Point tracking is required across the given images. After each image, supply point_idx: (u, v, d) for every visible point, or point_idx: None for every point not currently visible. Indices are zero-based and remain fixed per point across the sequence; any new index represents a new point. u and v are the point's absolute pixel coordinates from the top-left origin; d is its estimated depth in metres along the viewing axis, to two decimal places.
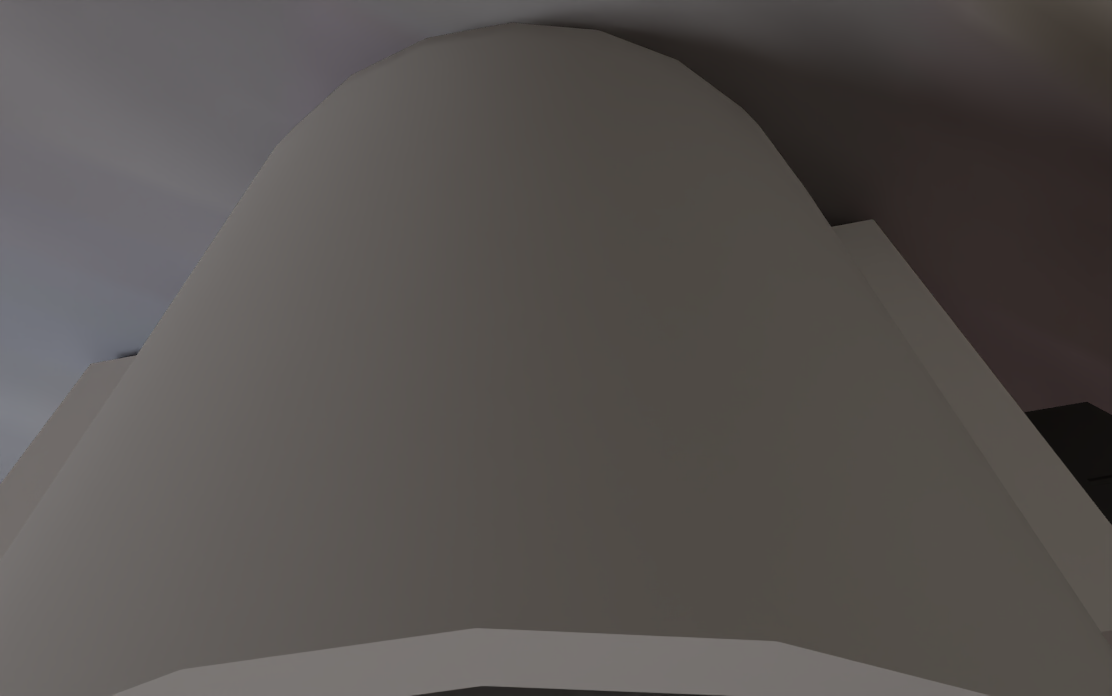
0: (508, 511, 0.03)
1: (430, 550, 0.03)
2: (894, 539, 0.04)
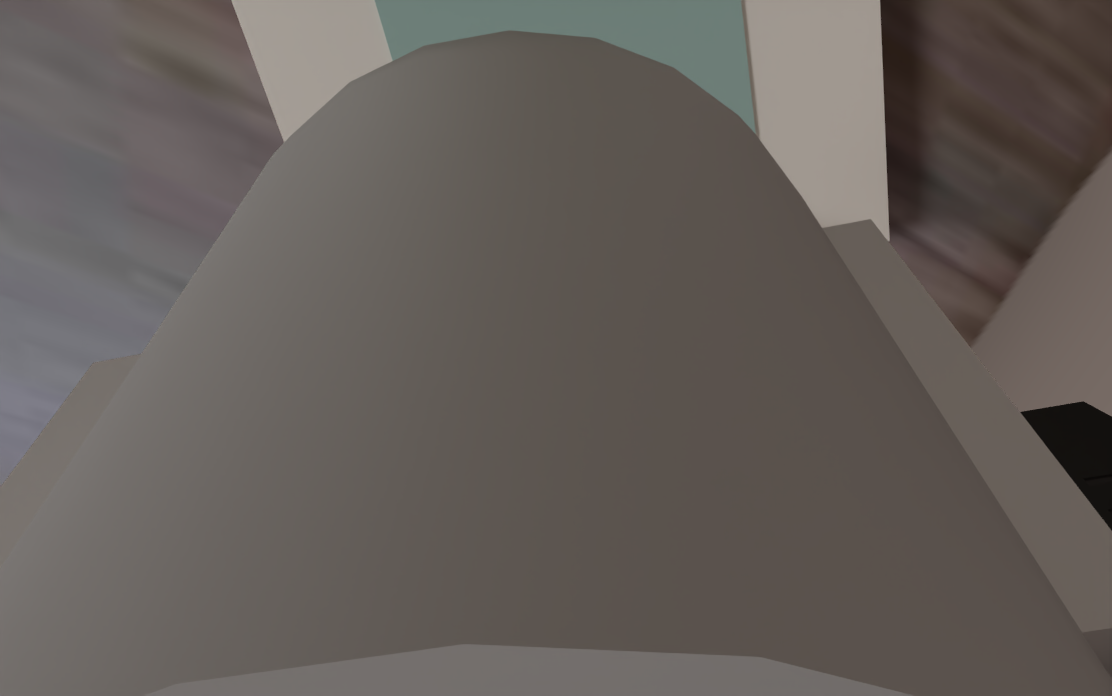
0: (497, 527, 0.04)
1: (420, 566, 0.03)
2: (879, 554, 0.04)
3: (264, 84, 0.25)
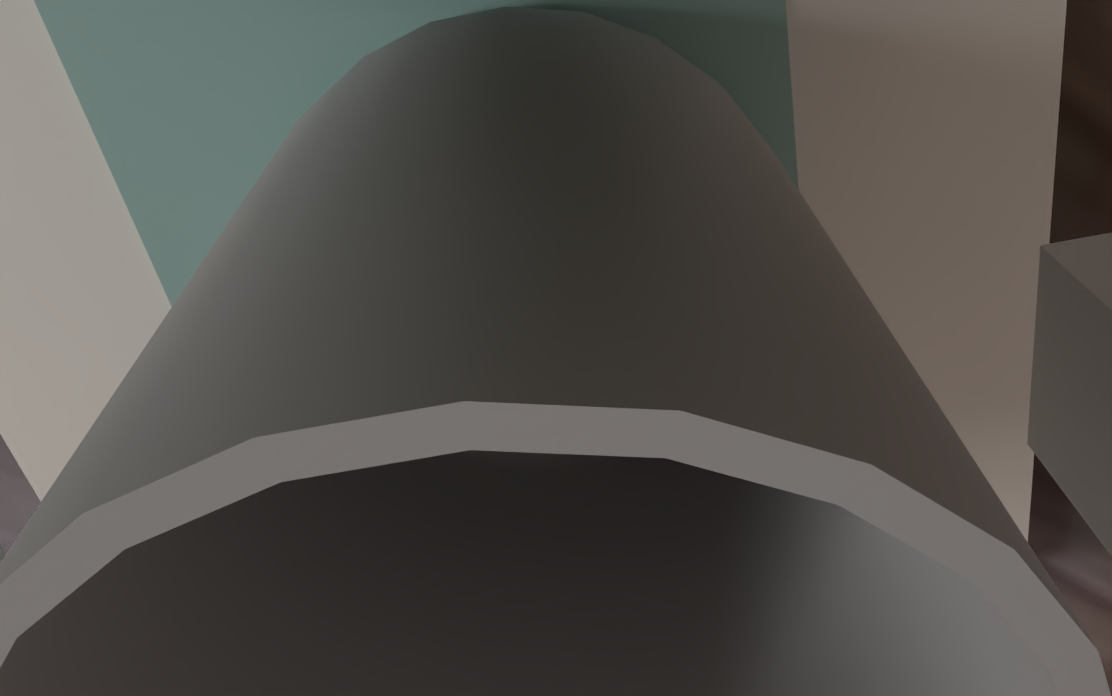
0: (489, 338, 0.05)
1: (433, 363, 0.04)
2: (787, 366, 0.05)
3: None
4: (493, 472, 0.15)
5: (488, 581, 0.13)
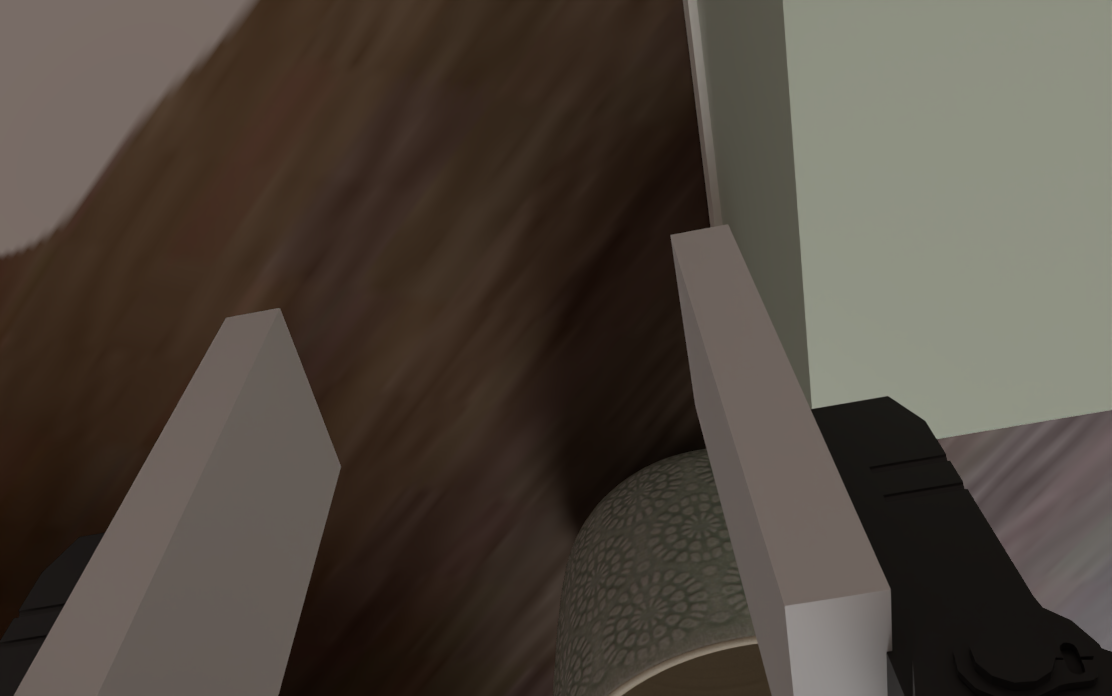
0: None
1: None
2: None
3: None
4: None
5: None
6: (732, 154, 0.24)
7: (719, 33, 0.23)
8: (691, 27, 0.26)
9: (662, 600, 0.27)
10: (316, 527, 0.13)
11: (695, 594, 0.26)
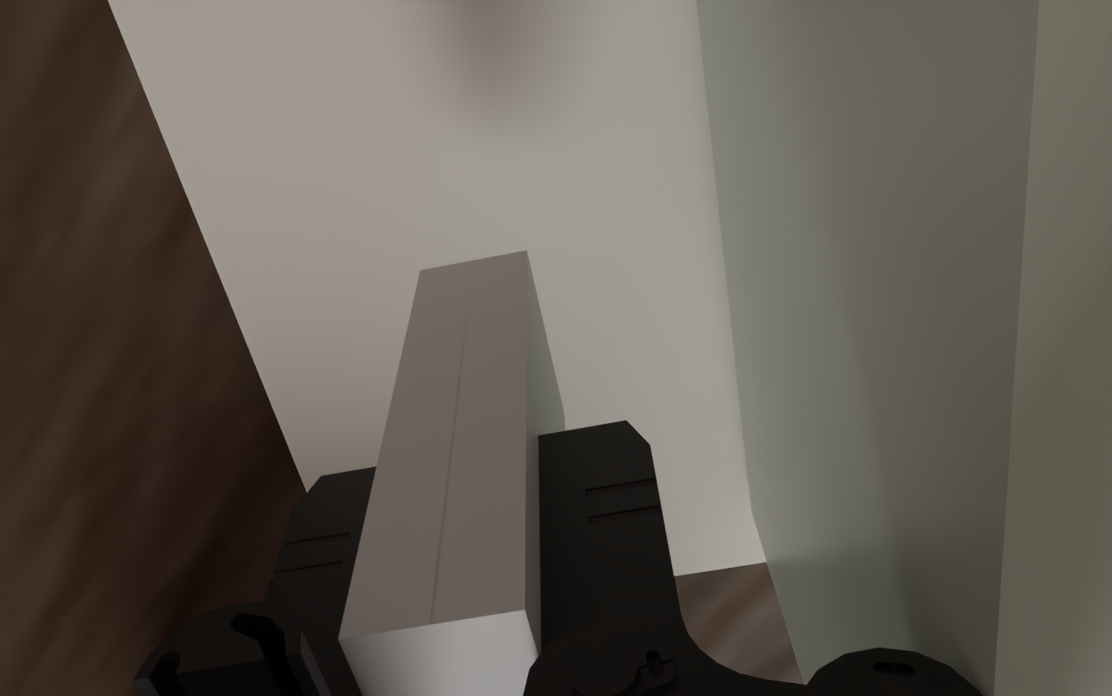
0: None
1: None
2: None
3: None
4: None
5: None
6: (776, 455, 0.14)
7: (760, 273, 0.13)
8: (229, 296, 0.17)
9: None
10: None
11: None
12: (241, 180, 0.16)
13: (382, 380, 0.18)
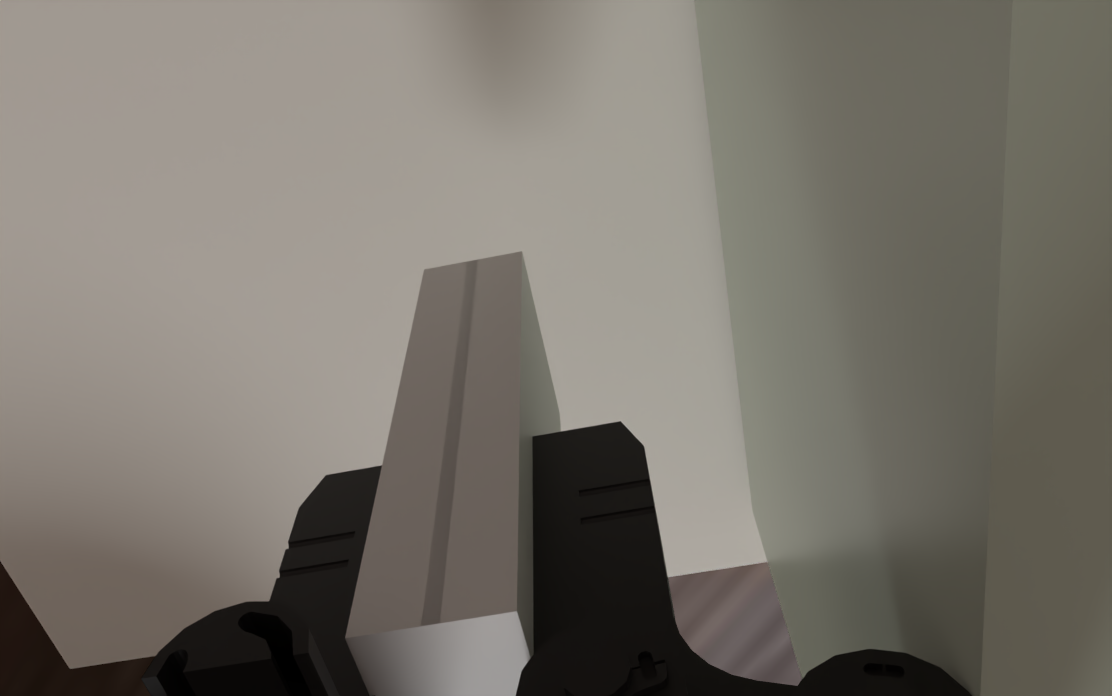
0: None
1: None
2: None
3: None
4: None
5: None
6: (775, 455, 0.14)
7: (757, 273, 0.13)
8: None
9: None
10: None
11: None
12: None
13: (40, 440, 0.18)
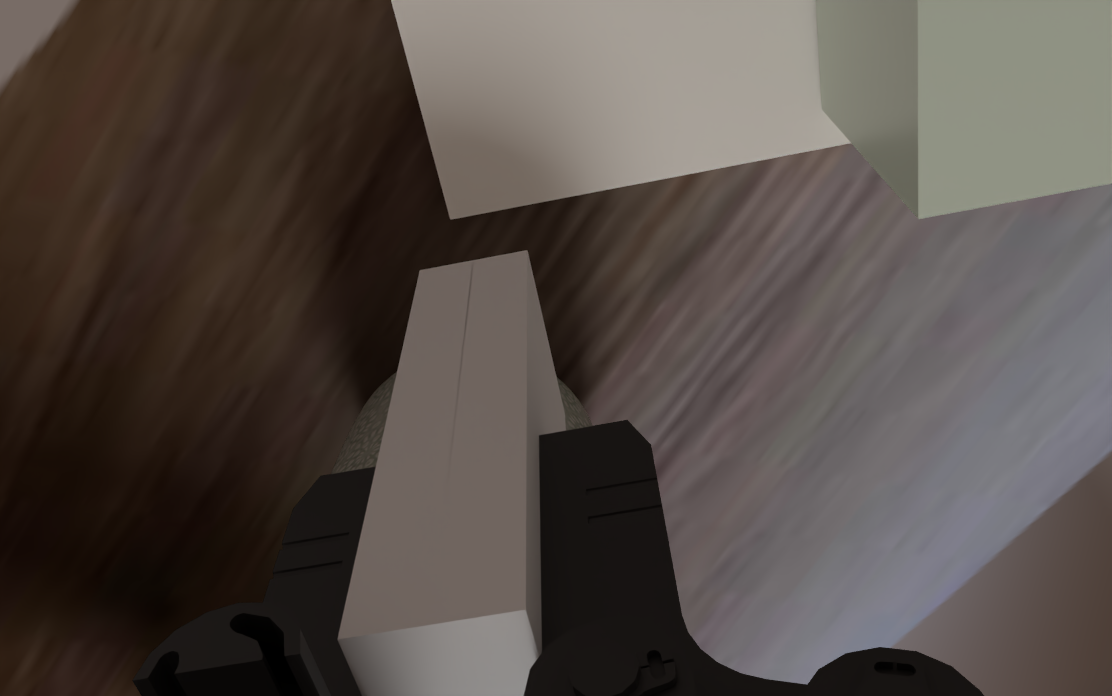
0: None
1: None
2: None
3: None
4: None
5: None
6: (842, 22, 0.32)
7: None
8: (396, 19, 0.36)
9: (378, 443, 0.36)
10: None
11: None
12: None
13: (467, 66, 0.37)
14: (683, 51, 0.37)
